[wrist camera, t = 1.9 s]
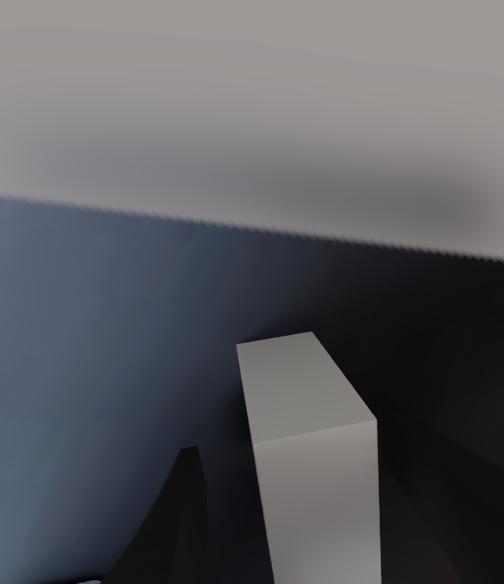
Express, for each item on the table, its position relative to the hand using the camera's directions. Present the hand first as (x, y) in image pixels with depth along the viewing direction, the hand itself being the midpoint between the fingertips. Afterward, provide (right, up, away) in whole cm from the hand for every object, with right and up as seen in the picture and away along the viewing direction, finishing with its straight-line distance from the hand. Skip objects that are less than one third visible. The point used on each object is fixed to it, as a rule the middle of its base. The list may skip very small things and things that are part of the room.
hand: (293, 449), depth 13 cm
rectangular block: (0, 0, +2) cm, 2 cm away
